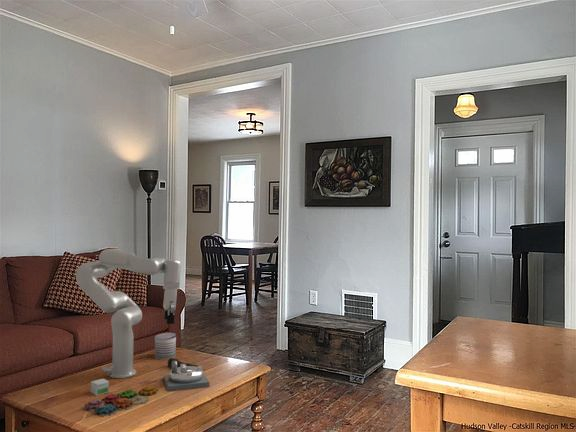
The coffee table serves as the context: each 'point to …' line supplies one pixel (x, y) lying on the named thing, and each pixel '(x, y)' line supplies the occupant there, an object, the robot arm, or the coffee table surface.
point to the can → (165, 346)
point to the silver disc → (185, 373)
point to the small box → (99, 386)
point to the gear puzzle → (119, 401)
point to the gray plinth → (181, 386)
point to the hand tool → (178, 363)
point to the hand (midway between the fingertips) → (169, 321)
